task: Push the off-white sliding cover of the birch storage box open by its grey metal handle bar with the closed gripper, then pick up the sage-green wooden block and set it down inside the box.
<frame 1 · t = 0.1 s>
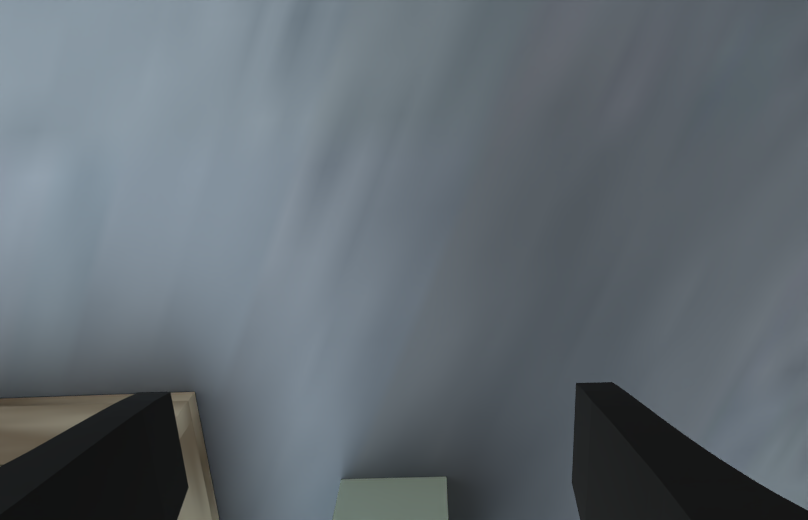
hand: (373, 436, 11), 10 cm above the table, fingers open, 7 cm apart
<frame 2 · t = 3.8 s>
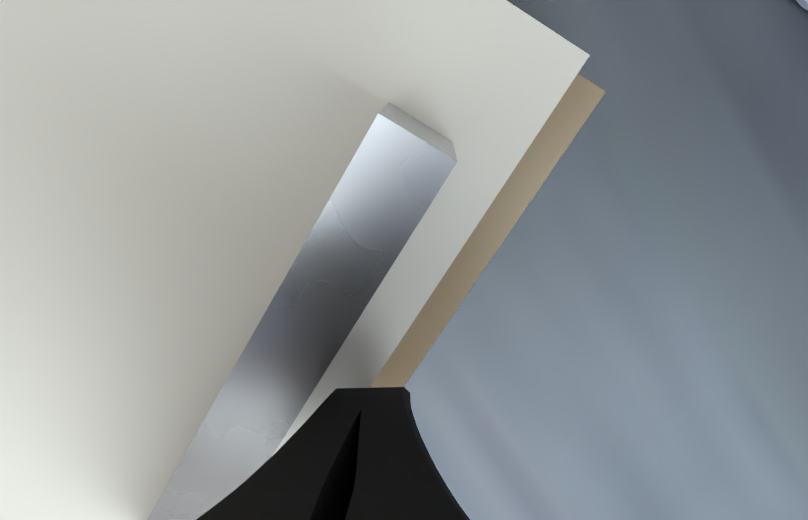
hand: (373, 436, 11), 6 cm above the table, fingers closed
storage box: (137, 160, 16), on the table
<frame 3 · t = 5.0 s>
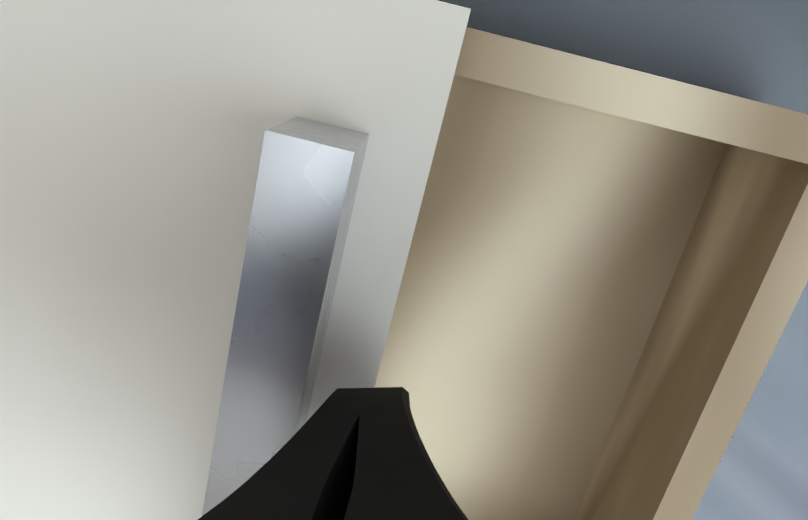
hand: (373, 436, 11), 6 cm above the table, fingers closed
storage box: (369, 299, 16), on the table
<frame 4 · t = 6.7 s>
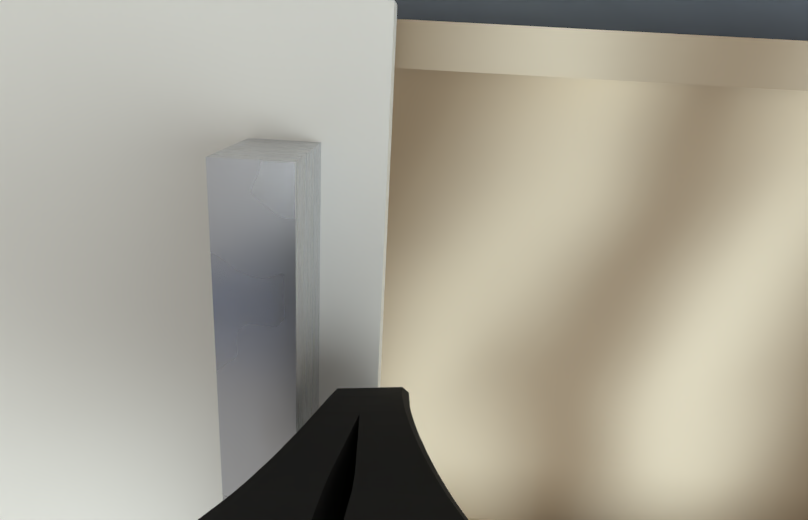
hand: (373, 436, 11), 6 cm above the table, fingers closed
storage box: (609, 321, 16), on the table
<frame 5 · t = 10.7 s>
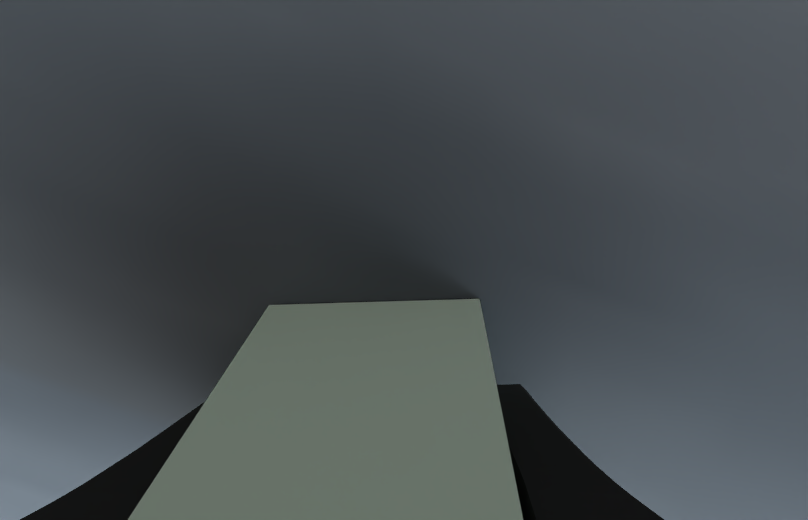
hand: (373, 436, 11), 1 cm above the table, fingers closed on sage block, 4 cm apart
sage block: (379, 395, 12), on the table, touching gripper
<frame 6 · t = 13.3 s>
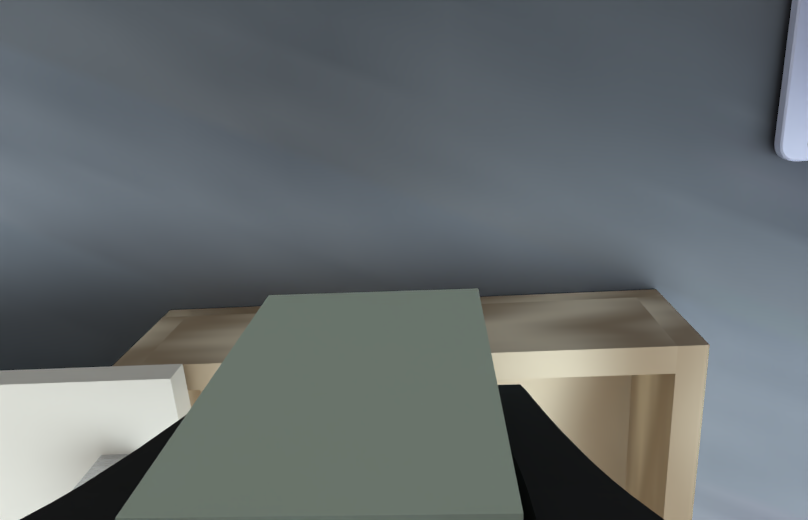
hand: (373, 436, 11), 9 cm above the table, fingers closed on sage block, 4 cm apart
sage block: (379, 385, 12), point 8 cm above the table, touching gripper
storage box: (419, 478, 22), on the table
when the fingers open (4 cm above the table, at t = 15.7 s): sage block drops 2 cm, resting on storage box.
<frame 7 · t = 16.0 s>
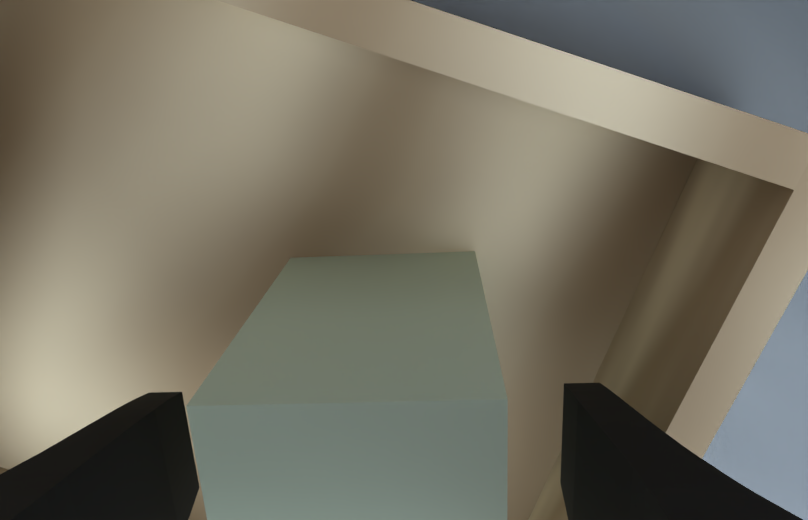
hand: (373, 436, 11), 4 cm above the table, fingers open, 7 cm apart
sage block: (387, 338, 14), point 1 cm above the table, touching storage box
storage box: (286, 309, 14), on the table
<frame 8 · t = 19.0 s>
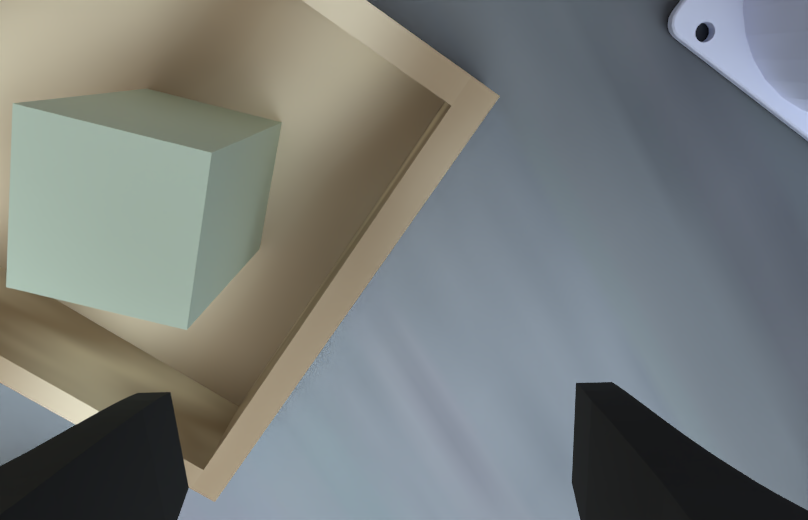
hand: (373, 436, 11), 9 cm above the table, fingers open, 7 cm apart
sage block: (205, 171, 18), point 1 cm above the table, touching storage box
storage box: (138, 132, 19), on the table
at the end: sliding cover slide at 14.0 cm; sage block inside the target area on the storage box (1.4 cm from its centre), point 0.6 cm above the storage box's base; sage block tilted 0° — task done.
